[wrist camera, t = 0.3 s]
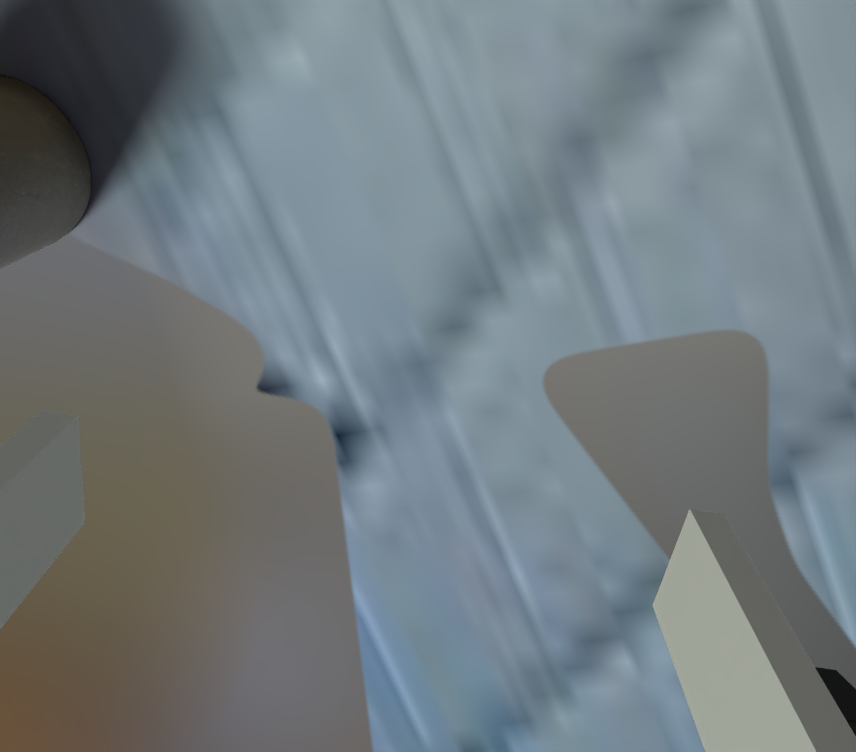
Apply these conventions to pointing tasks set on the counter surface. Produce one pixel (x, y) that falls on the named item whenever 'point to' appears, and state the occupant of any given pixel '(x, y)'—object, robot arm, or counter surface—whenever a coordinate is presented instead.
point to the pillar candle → (37, 172)
